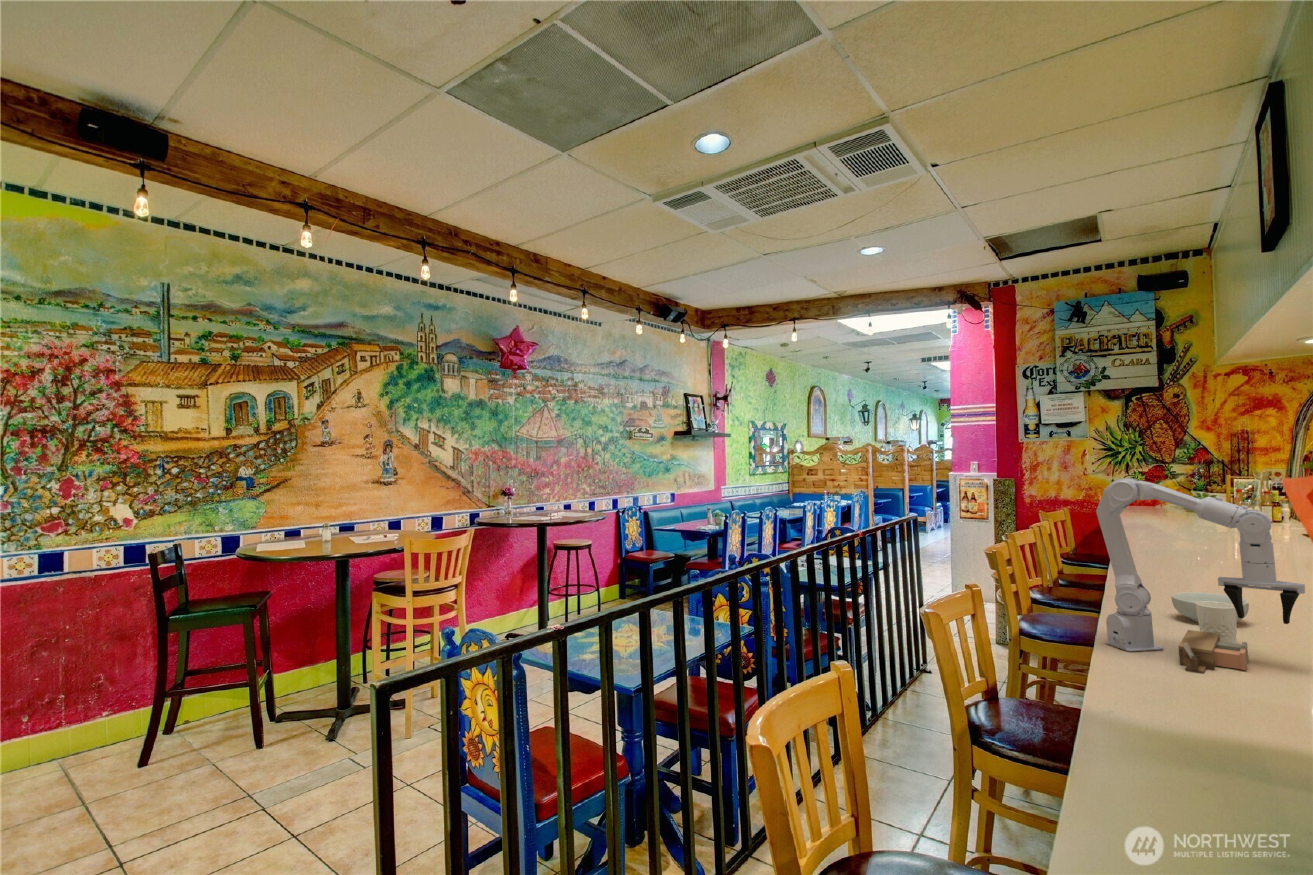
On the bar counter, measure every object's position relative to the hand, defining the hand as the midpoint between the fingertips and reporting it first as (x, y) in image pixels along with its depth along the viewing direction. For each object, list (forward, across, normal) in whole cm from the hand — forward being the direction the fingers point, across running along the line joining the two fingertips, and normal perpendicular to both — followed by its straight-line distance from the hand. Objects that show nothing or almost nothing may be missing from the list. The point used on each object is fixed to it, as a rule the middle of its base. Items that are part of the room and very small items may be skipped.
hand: (1263, 620), depth 144 cm
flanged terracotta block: (+10, +6, +7) cm, 14 cm away
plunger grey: (+10, +7, 0) cm, 13 cm away
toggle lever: (+8, +10, +15) cm, 19 cm away
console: (+10, +11, +6) cm, 16 cm away
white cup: (+11, +12, -14) cm, 21 cm away
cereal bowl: (+11, +18, -38) cm, 44 cm away
